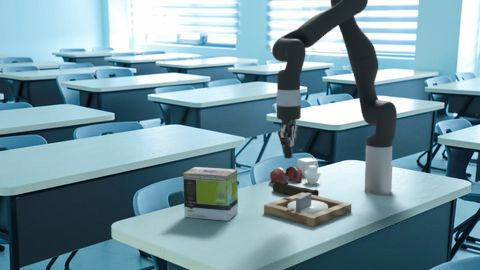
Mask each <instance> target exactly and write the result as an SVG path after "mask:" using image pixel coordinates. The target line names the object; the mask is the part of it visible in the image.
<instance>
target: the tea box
mask: <svg viewBox="0 0 480 270" xmlns="http://www.w3.org/2000/svg"><path fill="white" fill-rule="evenodd" d="M182 176H183V177H182V179H183V202H184V203H183V208H184V209H183V211H184V217H185V218H190V219H191V218H193V219H202V220H203V219H204V220H213V221H225V222H229V221H230V220H232V218H234V217H235V216H236V215H238V212H239V209H238V208H239V196H238V195H239V194H238V193H239V192H238V191H239V190H238V168H237V169H235V168H223V167H222V168H221V167H220V168H219V167H207V166H206V167H201V166H195V167H192V168H190V169H189V170H187V171H185V172H183V173H182Z"/></svg>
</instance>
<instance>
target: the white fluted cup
mask: <svg viewBox="0 0 480 270" xmlns="http://www.w3.org/2000/svg"><path fill="white" fill-rule="evenodd" d="M304 174H305V176H304V177H305V179H306V182H307V184H311V185H315V184H317V183H318V181H319V179H320V177H321V175H322V174H321V172H320V171H319V168H318V169H317V167H316V166H314V165H311V166H309V167H308V169H307V171H305V173H304Z"/></svg>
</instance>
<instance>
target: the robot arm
mask: <svg viewBox="0 0 480 270" xmlns="http://www.w3.org/2000/svg"><path fill="white" fill-rule="evenodd" d="M368 3H369V0H330V8H328V9H326V10H324V11H321V12H320V13H317V14H316V15H314V16H312V17H311V18H309V19H308V20H307V21H305V22H304V23H303V24H301V25H300V26H299V27H298V28H296V29H294V30H291V31H290V32H289V33H287V34H284V35H283V36H281V37H279V38H278V39H277V40H276V41H275V42H274V43H273V46H272V48H271V49H272V50H271V54H272V56H273V58H274V59H275V60H276V61H279V62H283V63H286V65H285V68H284V69H282V70H279V71H278V72H277V77H276V78H277V79H276V81H277V82H276V83H277V88H276V89H277V90H276V118H277V120H280V121H281V125H280V131H277V135H278V138H279V142H280V145H281V146H282V147H284V149H283V150H284V153H283V154H284V156H283V157H284V159H289V160H290V159H291V158H293V155H294V154H293V153H294V152H293V149H294V148H293V146H294V145H295V143H296V141H297V136H298V133H299V129H300V127H299V126H297V122H296V121H297V120H300V119H301V117H302V115H301V113H302V112H301V111H302V110H301V109H302V106H301V104H302V102H301V101H302V98H301V96H302V95H301V74H302V71H303V66H304V62H305V59H306V49H308V48H311V47H312V46H314V45H315V44H316V43H317V42H319V41H320V40H321V39H322V38H324V36H326V35H327V34H328V33H330V32H331V31H332V30H334V29H335V28H337V27H339V30H340V33H341V36H342V39H343V43H344V47H345V48H346V52H347V56H348V60H349V63H350V65H349V66H350V67H351V70H352V73H353V77H354V81H355V85H356V89H357V92H358V98H359V105H360V111H361V116H362V118H363V121H364V122H365V123H366V124H368V125H370V126H374V127H375V132H374V134H371V135H368V136H367V137H366V139H365V170H364V171H365V172H364V192H365V193H367V194H370V195H377V196H380V195H382V196H383V195H389V194H390V193H392V192H391V191H392V189H393V187H392V186H393V185H392V184H393V183H392V181H393V165H392V164H393V162H392V161H393V142H394V140H395V136H396V129H397V128H396V127H397V118H398V117H397V115H398V112H397V111H398V110H397V107H396V106H395V104H394V103H393V102H391V101H388V100H380V99H379V97H378V95H377V91H376V85H375V82H376V78H377V75H378V72H379V60H378V56H377V52H376V49H375V46H374V45H373V42H371V40H370V39H369V37H368V36H367V35H366V34H365V33H364V31H363V30H362V29H361V28H360V26H359V25H358V23H357V21H356V18H355V16H356V15H358V14H360V13H362V12H363V11H364V10H366V7H367V6H368Z"/></svg>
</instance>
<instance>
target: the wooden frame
mask: <svg viewBox="0 0 480 270" xmlns="http://www.w3.org/2000/svg"><path fill="white" fill-rule="evenodd" d="M303 194H305V193H300V194H296V195H291V196H286V197H283V198H281V199H278V200H274V201H272V202H268V203H265V204H263V214H266V215H269V216H273V217H276V218H280V219H283V220H286V221H290V222H294V223H296V224H297V223H298V224H301V225H304V226H308V227H312V228H315V227H318V226H320V225H323V224H325V223H328V222H330V221H333V220H336V219H338V218H341V217H343V216H345V215H348V214H351V213H352V203H348V202H344V201H340V200H338V199H337V200H336V199H332V198H328V197H322V196H319V195H318V196H316V195H311V200H315V201H320V202H323V203H326V204H327V205H328V209H326V210H323V211H320V212H318V213H315V214H308V213H304V212H300V211H297V210H294V209H292V208H291V209H289V208H288V204H289V203H290V202H293V201H296V198H297V197H299V196H301V195H303Z"/></svg>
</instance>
